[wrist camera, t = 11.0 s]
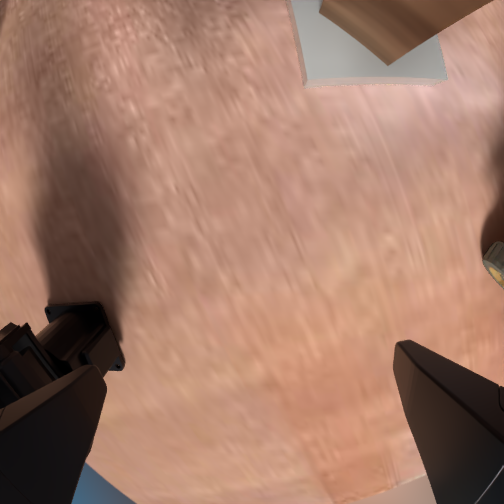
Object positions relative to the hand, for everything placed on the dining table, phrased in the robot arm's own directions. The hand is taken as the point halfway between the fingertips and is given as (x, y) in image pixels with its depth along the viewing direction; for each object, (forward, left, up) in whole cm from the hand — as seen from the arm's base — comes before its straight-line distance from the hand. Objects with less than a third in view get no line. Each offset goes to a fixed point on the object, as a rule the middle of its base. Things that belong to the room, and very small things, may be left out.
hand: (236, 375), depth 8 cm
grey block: (+9, +14, -14) cm, 21 cm away
